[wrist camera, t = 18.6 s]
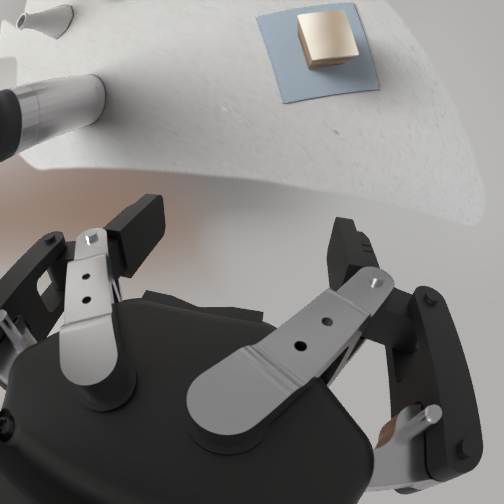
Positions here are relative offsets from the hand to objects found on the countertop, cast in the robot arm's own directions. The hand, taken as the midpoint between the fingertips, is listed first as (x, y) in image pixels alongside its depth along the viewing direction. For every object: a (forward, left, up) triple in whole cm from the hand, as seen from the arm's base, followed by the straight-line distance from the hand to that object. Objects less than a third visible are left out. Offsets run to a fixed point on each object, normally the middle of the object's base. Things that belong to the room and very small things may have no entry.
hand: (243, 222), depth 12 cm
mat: (+4, +12, -26) cm, 29 cm away
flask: (-40, +24, -26) cm, 54 cm away
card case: (+4, +12, -26) cm, 29 cm away
